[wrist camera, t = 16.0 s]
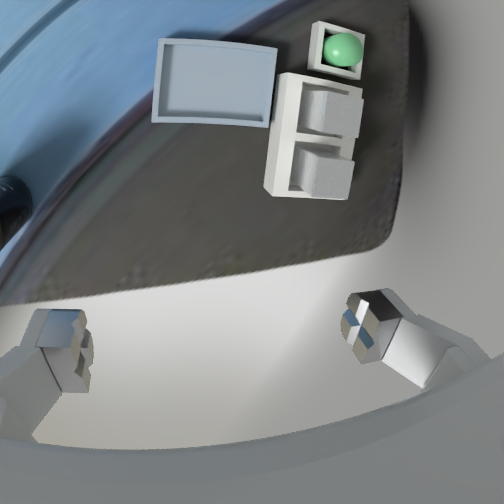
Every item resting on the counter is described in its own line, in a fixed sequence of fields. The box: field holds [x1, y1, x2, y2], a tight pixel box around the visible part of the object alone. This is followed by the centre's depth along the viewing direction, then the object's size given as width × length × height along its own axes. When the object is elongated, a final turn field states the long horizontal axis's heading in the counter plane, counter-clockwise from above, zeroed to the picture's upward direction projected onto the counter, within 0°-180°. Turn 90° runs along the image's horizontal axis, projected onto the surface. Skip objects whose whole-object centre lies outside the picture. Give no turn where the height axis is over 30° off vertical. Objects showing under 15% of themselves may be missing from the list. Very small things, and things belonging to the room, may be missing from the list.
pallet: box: [264, 73, 363, 200], centre depth 34 cm, size 14×9×4 cm, turn 173°
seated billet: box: [290, 145, 355, 199], centre depth 33 cm, size 4×4×7 cm
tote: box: [152, 38, 277, 128], centre depth 29 cm, size 9×12×2 cm
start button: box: [322, 33, 364, 67], centre depth 29 cm, size 4×4×3 cm
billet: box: [297, 91, 364, 138], centre depth 30 cm, size 4×4×7 cm
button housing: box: [307, 21, 365, 80], centre depth 30 cm, size 6×6×2 cm
